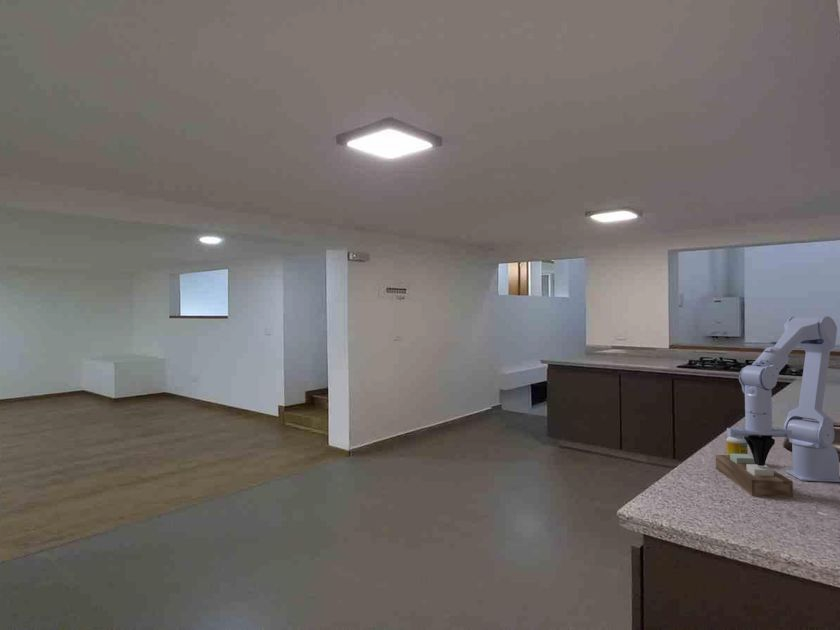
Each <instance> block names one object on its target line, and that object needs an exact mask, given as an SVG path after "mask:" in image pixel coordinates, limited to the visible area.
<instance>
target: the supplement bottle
mask: <svg viewBox="0 0 840 630" xmlns="http://www.w3.org/2000/svg"><path fill="white" fill-rule="evenodd" d="M725 441H726V455H730V454H748V455H749V451H748V449H749V446H748V444H747V442H746V440H745V439H744V437H736V436H735V437H730V436H727V437H726V440H725Z"/></svg>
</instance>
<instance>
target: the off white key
mask: <svg viewBox="0 0 840 630" xmlns="http://www.w3.org/2000/svg"><path fill="white" fill-rule="evenodd" d="M746 469H747V471H748V472H749V473H751V474H752V475H754V476H774V471H775V470H774V469H773V468H771V467H770V466H768V465H766V464H765V466H758V465H757V464H746Z"/></svg>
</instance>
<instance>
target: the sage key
mask: <svg viewBox="0 0 840 630" xmlns="http://www.w3.org/2000/svg"><path fill="white" fill-rule="evenodd" d="M730 460H731V461H733V462H734V463H736V464H755V462H754V458H753V456H752V455H749V453H748V454H730Z"/></svg>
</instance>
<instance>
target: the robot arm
mask: <svg viewBox="0 0 840 630" xmlns="http://www.w3.org/2000/svg"><path fill="white" fill-rule="evenodd" d="M783 329H784V330H783V331H784V332H783V333H782V335H781V336H780V337H779V339H778V341H777V342H776V344H775V345H774V346H770V347H765V349H764V350H763V352H762V353H760V355H759V356H758V357H757V358H756V359H755V361H754V362H752V363H751V365H745V367H742V368H741V370H740V371H739V376H738V381H739V383H740V385H741V391H742V393H743V394H744V415H745V418H744V419H745V420H744V421H745V426H743V427H742V426H740V427H727V428H726V436H727V437H729V436H730V437H735V436H736V437H744V439H745V440H746V442H747V446H748V448H749V449H750V452H751V454H752V455H751V456H752V457H753V458H754V462H755V464H757V465H758V466H765V465H766V461H767V458H768V455H769V453H770V452H771V449H772V448H773V447H774V445H775V443H776V440H775V439H774V438H786V439H788V442H789V443H791V444H792V445H791V447H792V448H791V450H792V452H791V453H792V454H791V455H792V469H786V470H785V472H786V473H788V474H790V475H791V476H792V477H795V478H796V479H798V480H799V481H802V482H803V481H805V482H807V481H808V482H829V483H831V482H832V483H833V482H834V483H840V458H839V454H838V451H837V449H836V448H835V447H834V446H832V444H833V442H834V440H835V430H834V419H832V417H830V416H829V415H828V414H827V413H825V411H823V408H824V407H823V406H824V400H825V392H826V385H827V378H828V377H827V376H828V370H829V361H830V355H831V350H833V349H834V348H835V347H836V340H837V334H838V327H837V325H836V323H835V320H834V319H833V318H832V317H831V316H826V315H825V316H790V317H789V318H787V320H786V322H784V326H783ZM797 347H799V348H802V349H803V350H804V352H805V355H804V356H805V357H804V363H803V364H804V365H803V372H802V376H801V377H802V380H801V386H800V392H799V400H798V401H799V402H798V407H795V408H794V409H792V410H790V411H788V413H787V415H786V416H787V417H786V420H785V421H784V424H783V428H777V427H776V428H775V427H773V401H772V399H773V398H772V397H773V396H772V395H773V393H772V389H774V388H775V387H776V386H777V383H778V378H779V377H780V376H779V375H780V372H781V370H782V369H783V368H784V367H785V366H786V365H787V364H788V363H789V361H790V360H789V358H790V357H789V354H790V353H791V352H792V351H794V349H795V348H797ZM807 419H808V420H807Z"/></svg>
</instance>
